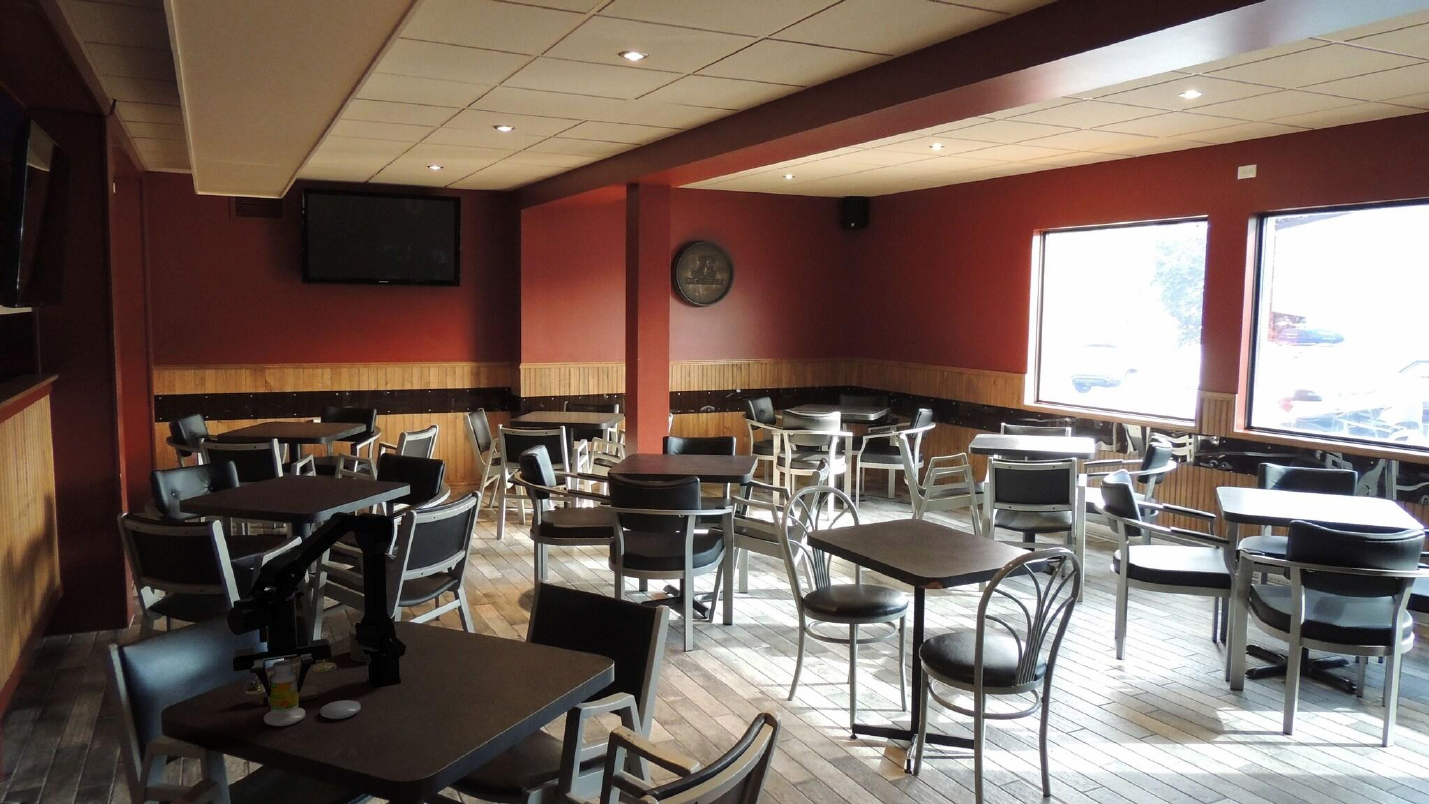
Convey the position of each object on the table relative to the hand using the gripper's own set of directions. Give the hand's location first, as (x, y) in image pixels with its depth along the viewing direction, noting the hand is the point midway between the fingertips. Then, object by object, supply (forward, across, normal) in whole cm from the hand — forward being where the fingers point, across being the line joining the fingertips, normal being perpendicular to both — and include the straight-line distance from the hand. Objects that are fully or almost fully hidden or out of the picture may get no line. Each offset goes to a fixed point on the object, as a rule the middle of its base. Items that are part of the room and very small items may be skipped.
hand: (284, 694), depth 212 cm
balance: (+6, -2, -13) cm, 14 cm away
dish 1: (+6, 0, 0) cm, 6 cm away
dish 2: (+6, -11, +1) cm, 12 cm away
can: (+6, -22, -35) cm, 42 cm away
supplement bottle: (+3, 0, 0) cm, 3 cm away
